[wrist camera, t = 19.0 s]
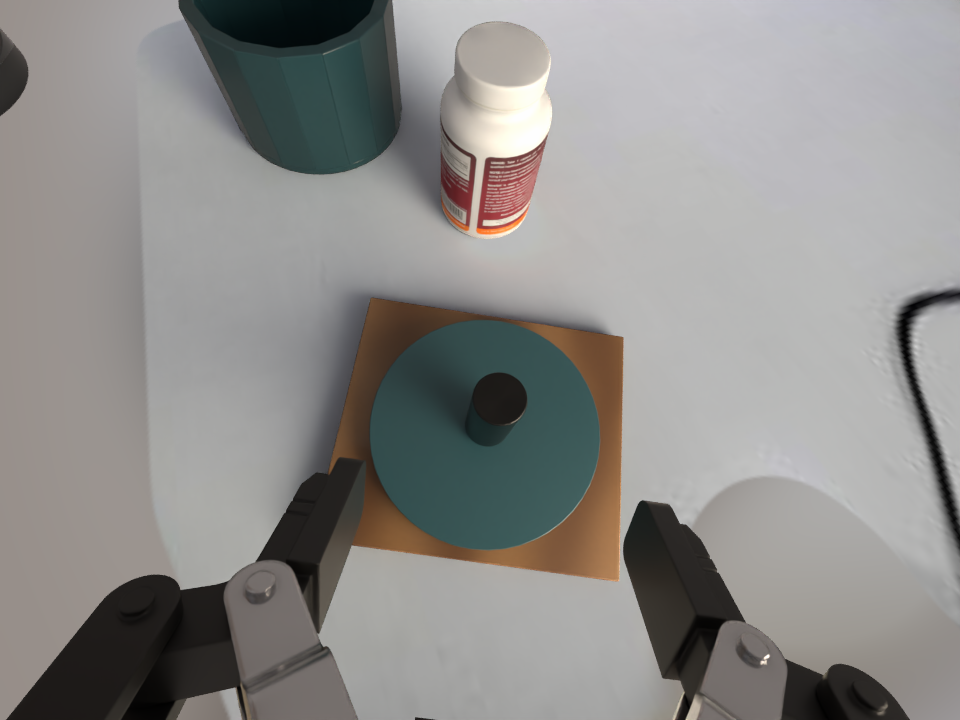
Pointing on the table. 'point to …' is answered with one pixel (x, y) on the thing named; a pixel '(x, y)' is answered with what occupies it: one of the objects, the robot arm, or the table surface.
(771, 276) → the table surface
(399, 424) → the lid
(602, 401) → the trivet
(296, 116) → the pot
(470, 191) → the pill bottle
